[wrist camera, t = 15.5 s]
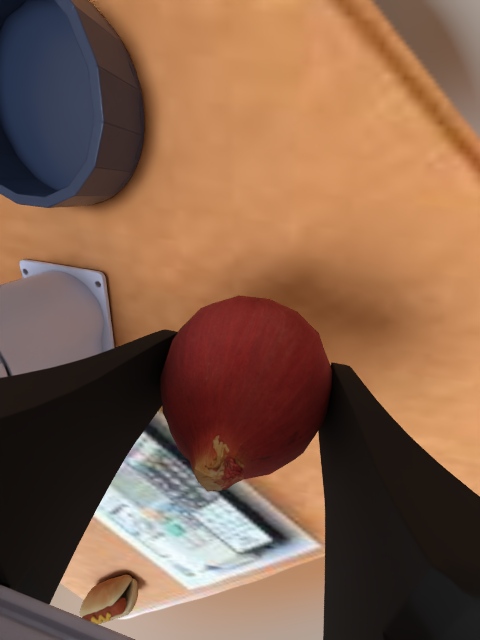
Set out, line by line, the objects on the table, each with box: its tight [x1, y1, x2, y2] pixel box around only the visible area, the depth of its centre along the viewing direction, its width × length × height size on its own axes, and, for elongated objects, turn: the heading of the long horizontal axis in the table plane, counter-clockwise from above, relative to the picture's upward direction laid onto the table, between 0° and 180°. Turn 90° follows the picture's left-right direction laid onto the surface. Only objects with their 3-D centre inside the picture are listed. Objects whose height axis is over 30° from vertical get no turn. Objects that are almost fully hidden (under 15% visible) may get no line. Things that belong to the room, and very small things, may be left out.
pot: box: [0, 0, 144, 208], centre depth 16 cm, size 11×11×4 cm
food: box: [80, 574, 138, 624], centre depth 45 cm, size 14×6×5 cm, turn 139°
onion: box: [160, 296, 333, 491], centre depth 10 cm, size 6×6×8 cm
